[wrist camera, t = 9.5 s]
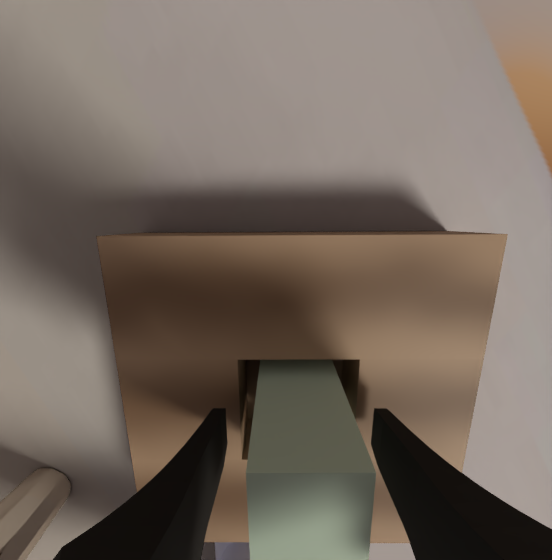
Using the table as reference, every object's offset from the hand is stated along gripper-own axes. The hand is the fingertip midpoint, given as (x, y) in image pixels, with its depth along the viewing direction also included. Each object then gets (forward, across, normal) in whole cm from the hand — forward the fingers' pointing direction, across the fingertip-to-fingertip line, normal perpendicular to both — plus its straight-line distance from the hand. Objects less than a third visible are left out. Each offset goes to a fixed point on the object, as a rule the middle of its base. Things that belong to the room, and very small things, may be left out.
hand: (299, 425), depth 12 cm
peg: (+4, 0, 0) cm, 4 cm away
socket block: (+5, 0, 0) cm, 5 cm away
